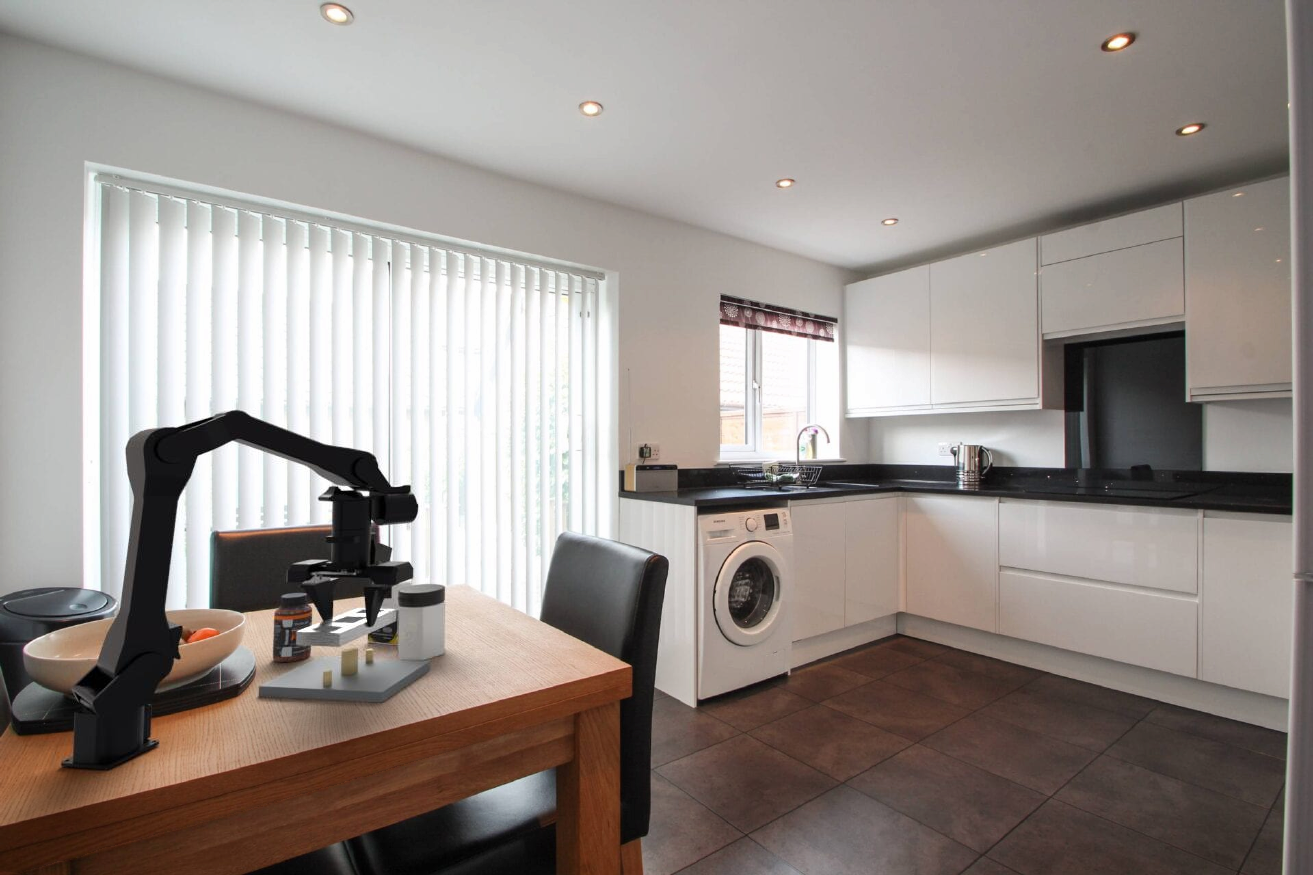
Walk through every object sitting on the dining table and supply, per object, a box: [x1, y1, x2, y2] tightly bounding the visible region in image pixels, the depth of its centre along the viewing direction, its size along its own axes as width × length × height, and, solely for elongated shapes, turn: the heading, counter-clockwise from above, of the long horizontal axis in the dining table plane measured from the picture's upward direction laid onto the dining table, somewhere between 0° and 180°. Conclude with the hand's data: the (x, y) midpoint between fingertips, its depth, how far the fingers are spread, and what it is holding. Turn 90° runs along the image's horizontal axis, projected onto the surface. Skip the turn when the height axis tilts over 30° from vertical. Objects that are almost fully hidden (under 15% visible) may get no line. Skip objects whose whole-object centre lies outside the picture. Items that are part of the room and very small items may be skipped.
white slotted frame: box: [296, 607, 396, 648], centre depth 97 cm, size 15×7×2 cm, turn 173°
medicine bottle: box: [367, 579, 413, 646], centre depth 120 cm, size 7×7×12 cm
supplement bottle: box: [272, 592, 313, 663], centre depth 109 cm, size 6×6×11 cm
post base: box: [258, 647, 431, 703], centre depth 96 cm, size 14×20×5 cm
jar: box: [397, 583, 446, 661], centre depth 111 cm, size 9×8×12 cm
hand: (349, 625), depth 97 cm, fingers closed on white slotted frame, 7 cm apart
